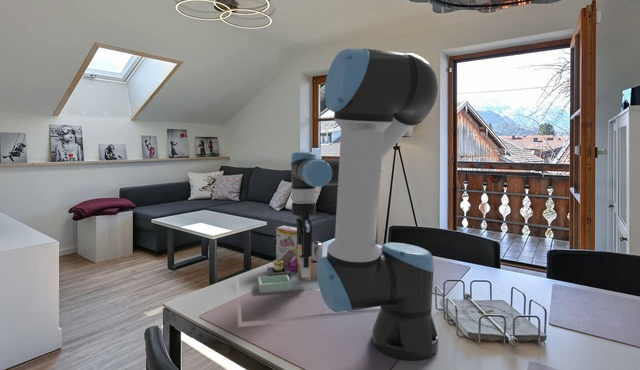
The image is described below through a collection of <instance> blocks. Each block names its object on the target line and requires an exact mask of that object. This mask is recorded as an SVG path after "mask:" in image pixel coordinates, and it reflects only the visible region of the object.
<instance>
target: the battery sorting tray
mask: <svg viewBox="0 0 640 370" xmlns="http://www.w3.org/2000/svg"><path fill="white" fill-rule="evenodd" d="M323 257H324V256H322V258H323ZM256 280H257V285H258V288H259V293H260V295H261V294H271V293H280V292H291V291H294V292H295V291H305V290H314V289H315V290H316V289H320V287H319V283H318V278H317V263H311V257H310V279H309V280H306V281H302V280H298V273H297V272H292V271H289V269H288V266H283V272H274V266H271V267H269V266H268V267H266V274H257V275H256Z"/></svg>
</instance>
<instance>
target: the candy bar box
mask: <svg viewBox="0 0 640 370" xmlns="http://www.w3.org/2000/svg"><path fill="white" fill-rule="evenodd" d="M275 260H284V263H283V266H288V269H289V271H290V272H291V273H292V272H297V273H298V249H297V227H295V226H287V225H281V226H276V228H275Z"/></svg>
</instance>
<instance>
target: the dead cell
mask: <svg viewBox="0 0 640 370" xmlns="http://www.w3.org/2000/svg"><path fill="white" fill-rule="evenodd" d="M323 249H324V248H323V242H321V241H318V240H315V241H312V256H311V257H310V258H311V263H318V260H319V259H321V258H322V257H323V253H324V252H323Z"/></svg>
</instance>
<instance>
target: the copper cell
mask: <svg viewBox="0 0 640 370" xmlns="http://www.w3.org/2000/svg"><path fill="white" fill-rule="evenodd" d="M300 256H302V246H301V243H299V244H298V280H302V281H306V280H309V279H310V277H305V278H301V258H300Z"/></svg>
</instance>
